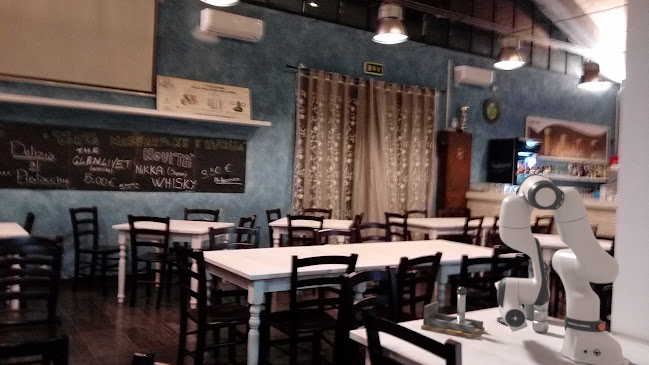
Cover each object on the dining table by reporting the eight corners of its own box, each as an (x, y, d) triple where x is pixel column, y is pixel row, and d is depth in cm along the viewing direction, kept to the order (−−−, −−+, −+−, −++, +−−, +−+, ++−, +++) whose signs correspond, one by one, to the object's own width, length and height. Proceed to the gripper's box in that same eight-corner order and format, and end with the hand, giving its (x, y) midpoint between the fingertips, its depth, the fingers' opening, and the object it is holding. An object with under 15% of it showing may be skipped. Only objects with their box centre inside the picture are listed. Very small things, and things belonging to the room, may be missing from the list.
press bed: (484, 330, 232) (485, 308, 232) (470, 338, 219) (471, 315, 219) (436, 322, 245) (437, 301, 245) (421, 329, 232) (421, 306, 232)
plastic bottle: (540, 334, 228) (542, 287, 228) (528, 330, 235) (529, 284, 235) (552, 333, 231) (553, 286, 231) (539, 329, 237) (541, 283, 237)
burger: (505, 327, 240) (506, 310, 240) (491, 320, 252) (491, 304, 252) (529, 326, 243) (529, 309, 243) (514, 320, 254) (514, 304, 254)
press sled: (472, 327, 231) (473, 286, 231) (465, 331, 225) (466, 289, 225) (456, 324, 235) (457, 284, 235) (449, 328, 229) (450, 286, 229)
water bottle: (545, 317, 260) (546, 259, 260) (548, 322, 250) (550, 261, 250) (522, 315, 262) (524, 258, 262) (525, 320, 252) (527, 260, 253)
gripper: (492, 287, 216) (489, 281, 229) (514, 335, 214) (510, 326, 227) (507, 281, 214) (504, 275, 228) (529, 330, 212) (525, 321, 226)
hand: (507, 301), depth 228 cm, fingers open, 8 cm apart
